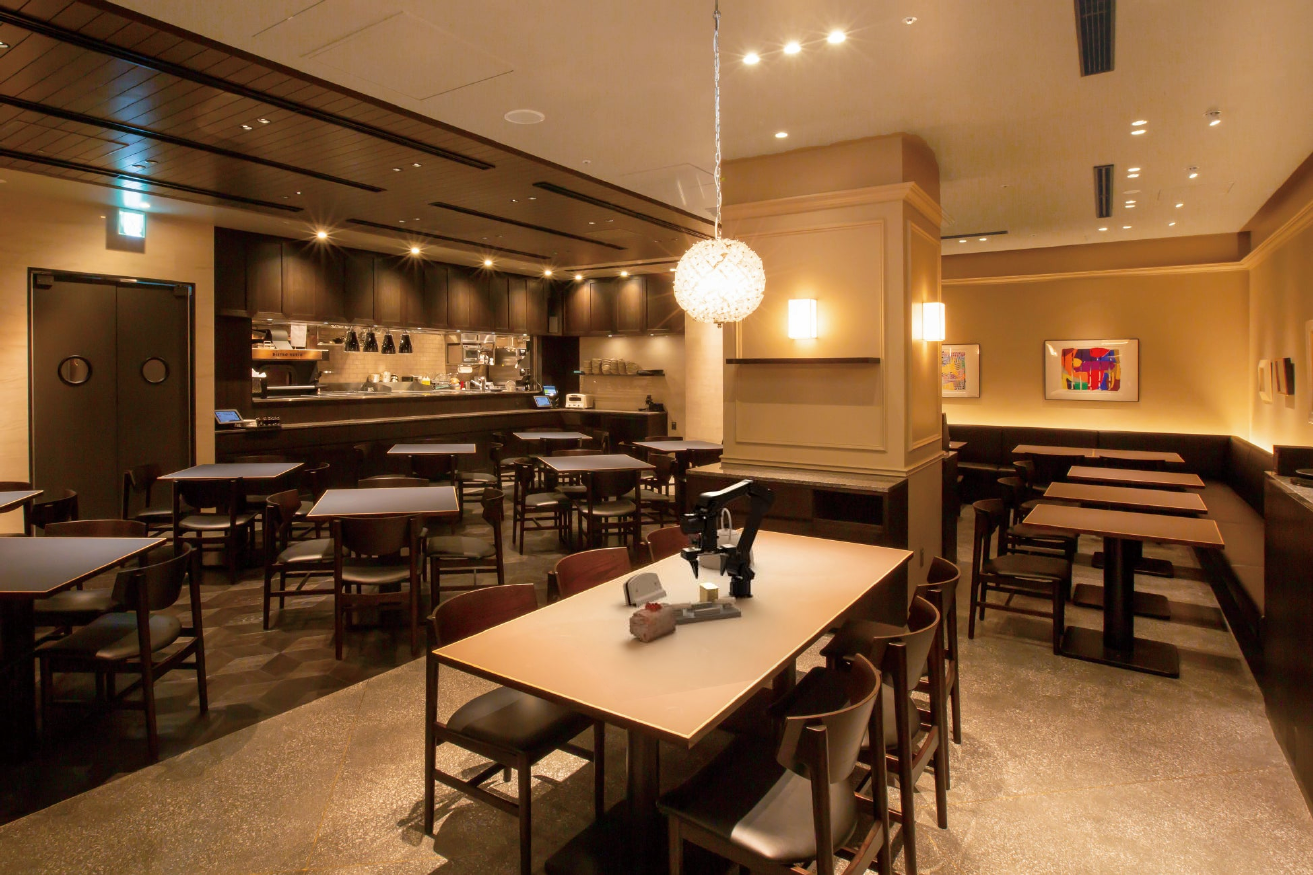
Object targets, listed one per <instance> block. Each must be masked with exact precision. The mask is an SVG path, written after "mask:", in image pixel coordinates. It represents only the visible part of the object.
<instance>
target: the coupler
mask: <svg viewBox="0 0 1313 875" xmlns="http://www.w3.org/2000/svg"><path fill="white" fill-rule="evenodd" d="M715 599H719V587H718V586H716V585H715V584H713V583H711V582H706V583H699V603H702V602H710V601H711V602H712V604H715Z"/></svg>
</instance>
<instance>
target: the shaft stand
mask: <svg viewBox="0 0 1313 875" xmlns="http://www.w3.org/2000/svg"><path fill="white" fill-rule="evenodd" d="M735 603H736V598H735V597H734V596H731V597H720V598H718V599H715V604H712V602H711V601H710V602H695V603H691V602H690V601H688V602H680V603H672V604H670V603H669V604H670V605H671V606H673V607H674V610H675V621H676V625H677V624H678V625H683V624H684V623H686V624H690V623H691V624H692V623H700V622H699V621H701V622H706V621H713V620H714V621H715V619H716V620H722V619H724V620H725V619H730V618H738V617H742V611H741V610H739V609H738V608H737V607H735V606H733V604H735Z"/></svg>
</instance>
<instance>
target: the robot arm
mask: <svg viewBox="0 0 1313 875" xmlns="http://www.w3.org/2000/svg"><path fill="white" fill-rule="evenodd" d="M745 495H746V496H748V497H749V507H750V511H749V513H748V515H747V519H746V521H745V524H744V526H743V529H742V531H741V533H740V534H741V536H740V539H739V542H738V544H737V547H735V546H733V545H731V544H726V545H721V546H720V548H719V547H718V539H719V535H718V532H717V530H718V519H719V518H721V517H723V518H724V514H723V515H722V513H721V512H720V510H721V509H724V507H725V505H726V504H728V503H730V502H731V501H733V500H736V499H738V498H741V497H743V496H745ZM775 501H776V494H775V492H774V491H773V490H772V489H769V488H766V487H765V486H762V485H761V484H758V483H757V482H756V481H755V480H749V479H743V480H741V481H740V482H738V483H734V484H732V485H730V486H729V487H726V488H724V489H721V490H719V491H709V492H703V493H701V494H699V495H698V498H697V501H696V502H695V504H694V506H693V508H692V510H691V511H690V514H689V513H687V514H686V513H685V514H683V518H682V519H681V520H680V523H679V529H680V532H681V534H682V535H683V536H686V537H688V536H689V537H688V545H689V547H688V548H687V547H686V548H682V549H681V550H680V558H682V559H684V560H685V561H687V562H688V563H689V565H690V567H691V569H692V572H693V575H694V579H696V580H698V579H699V565H700V564H699V560H698V559H699V556H703V555H712V554H719V555H720V559H721V561H720V569H719V574H720V576H721V577H723V576H724V574H725V572H726V574H727V577H730V582H729V591H728V594H729V595H731V597H735V599H742V598H751V597H752V598H753V596H754V595H753V594H752V592H751V590H752V589H751V588H752V587H751V586H752V585H751V584H752V582H751V581H752V580H755V576H756V572H755V571H754V570H753V569H752V568H751V567H750V563H751V559H750V550H751V548H752V549H753V545H754V542H755V540H756V537H757V535H758V531H759V529H760V526H761V524H762V521H763V519H764V516H765V515H766V514H767V513H768V512H769V511H770V510H771V509H772V507H773V506H774V503H776V502H775ZM693 535H694V536H693ZM696 535H698V537H696ZM692 546H693V547H694V548H692ZM700 549H701V550H700ZM711 551H714V552H711ZM704 552H706V553H704ZM697 558H698V559H697Z"/></svg>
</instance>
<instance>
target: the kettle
mask: <svg viewBox="0 0 1313 875" xmlns="http://www.w3.org/2000/svg"><path fill="white" fill-rule="evenodd" d="M725 512H726V514H727V516H728V521H729V522H728V521H725V522H724V514H725ZM721 514H722V515H723V517H720V521H721V522H720V524H721V529H717V532H718V535H719V539H718V547H719V548H720V546H721V545H726V544H731V545H733V546H735V547H737V544H738V542H739V539H740V536H741V534H742V533H741V532H739V531H737V530H735V529H733V528H732V526H733V525H732V518H731V513H730V511H729V510H728V508H724V507H723V508H722V510H721ZM699 550H701V549H699ZM711 552H714V551H711ZM704 553H706V552H704ZM754 556H755V555H754V550H753V547H752V548H751V550H750V559H751V563H750V566H751V567H753V566H754V565H753V564H755V562H754V561H755V560H754ZM698 559H699V560H698V561H699V564H698V565H700V566H702V567H705V568H707V567H709V568H708V569H712V568H713V570H720V561H721V559H720V555H719V554H712V555H703V556H698ZM752 565H753V566H752Z"/></svg>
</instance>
